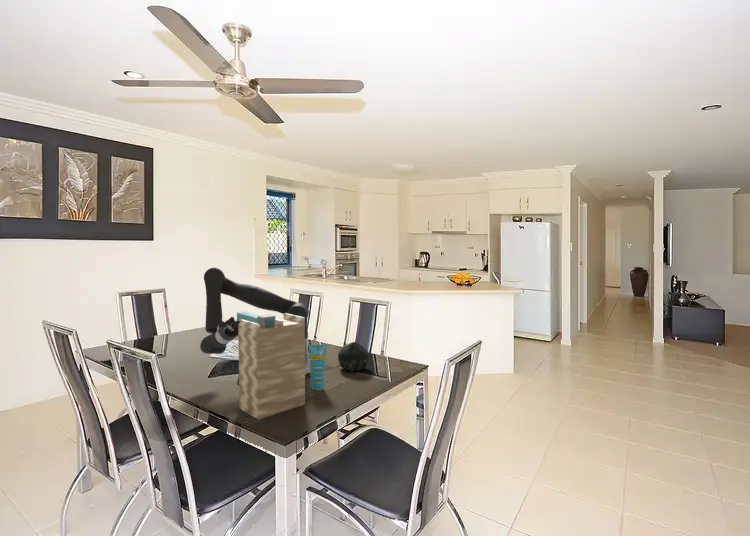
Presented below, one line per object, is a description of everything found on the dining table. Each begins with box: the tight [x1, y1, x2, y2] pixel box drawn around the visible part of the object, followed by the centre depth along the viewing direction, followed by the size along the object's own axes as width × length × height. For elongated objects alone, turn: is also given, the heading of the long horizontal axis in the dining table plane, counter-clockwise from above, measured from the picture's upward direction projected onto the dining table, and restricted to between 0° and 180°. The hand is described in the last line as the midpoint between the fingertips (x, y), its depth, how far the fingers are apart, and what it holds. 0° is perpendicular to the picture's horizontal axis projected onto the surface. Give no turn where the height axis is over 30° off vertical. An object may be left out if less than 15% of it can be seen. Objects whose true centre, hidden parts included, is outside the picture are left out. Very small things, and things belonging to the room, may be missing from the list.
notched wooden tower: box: [237, 313, 306, 420], centre depth 157 cm, size 14×20×34 cm
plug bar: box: [236, 311, 276, 329], centre depth 155 cm, size 21×5×4 cm, turn 45°
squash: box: [337, 341, 369, 372], centre depth 203 cm, size 14×15×15 cm
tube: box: [308, 343, 328, 391], centre depth 176 cm, size 7×5×19 cm, turn 103°
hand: (243, 317), depth 161 cm, fingers open, 8 cm apart
